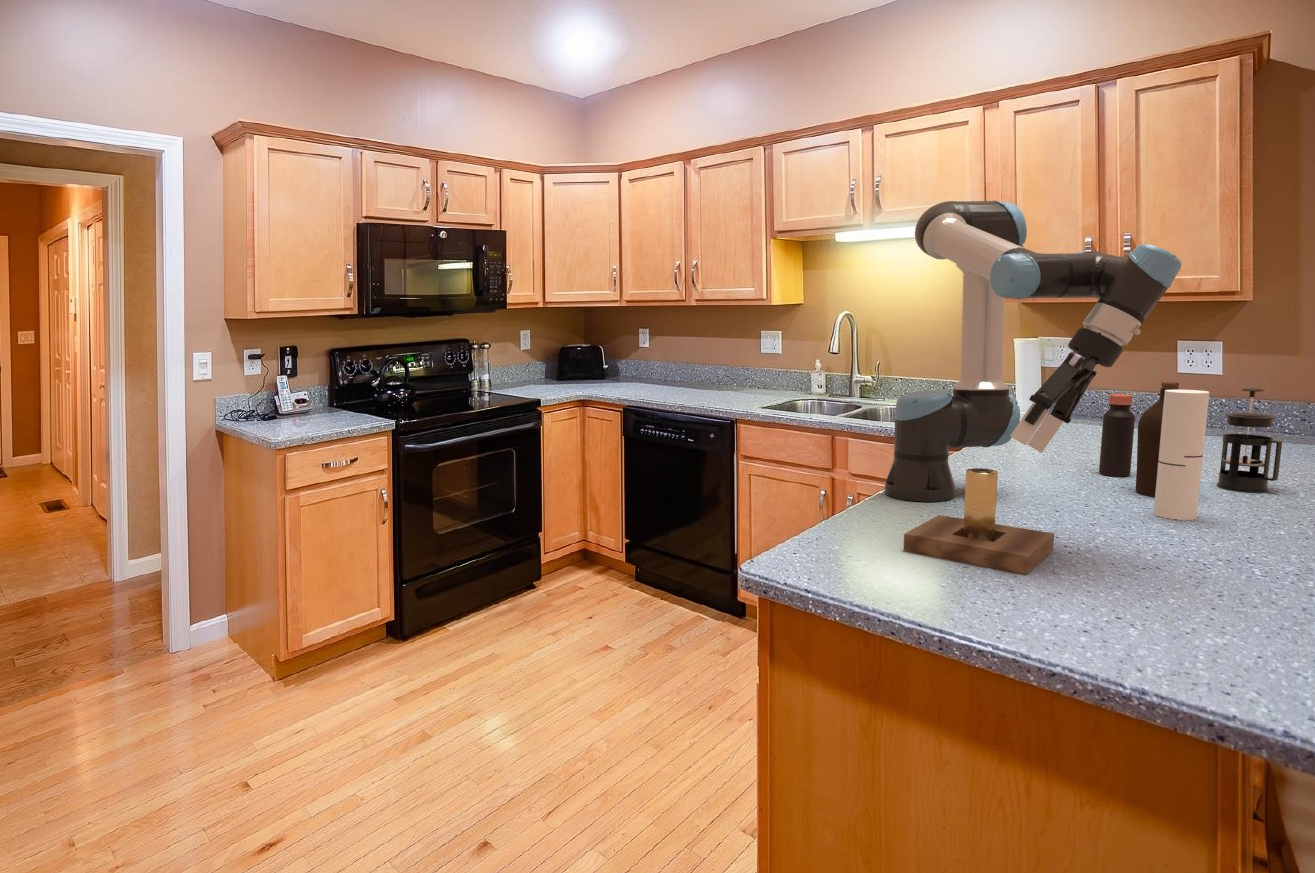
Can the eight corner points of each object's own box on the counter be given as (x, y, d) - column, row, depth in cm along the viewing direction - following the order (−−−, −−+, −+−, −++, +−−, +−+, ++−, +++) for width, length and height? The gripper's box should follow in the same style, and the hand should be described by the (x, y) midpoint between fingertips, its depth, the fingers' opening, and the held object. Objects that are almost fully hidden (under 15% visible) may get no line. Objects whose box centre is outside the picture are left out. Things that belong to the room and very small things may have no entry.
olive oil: (1160, 500, 164) (1171, 385, 160) (1120, 489, 174) (1130, 381, 170) (1201, 497, 166) (1212, 383, 162) (1159, 487, 176) (1169, 379, 172)
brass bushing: (958, 551, 131) (961, 471, 129) (968, 544, 135) (971, 466, 133) (988, 556, 128) (992, 475, 126) (997, 549, 132) (1001, 469, 129)
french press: (1204, 486, 177) (1214, 387, 173) (1227, 481, 181) (1237, 385, 177) (1263, 496, 166) (1275, 392, 163) (1285, 491, 170) (1297, 389, 167)
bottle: (1119, 478, 186) (1126, 397, 183) (1092, 473, 192) (1099, 395, 188) (1136, 475, 189) (1143, 395, 186) (1109, 470, 195) (1115, 393, 192)
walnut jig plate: (903, 550, 132) (904, 533, 131) (937, 530, 144) (938, 514, 143) (1026, 574, 119) (1027, 556, 118) (1053, 550, 131) (1054, 533, 130)
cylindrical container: (1203, 521, 147) (1216, 393, 143) (1163, 519, 149) (1174, 393, 145) (1186, 511, 154) (1198, 389, 150) (1147, 510, 156) (1158, 389, 152)
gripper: (1116, 330, 113) (1031, 449, 118) (1132, 361, 133) (1059, 462, 138) (1068, 308, 117) (988, 425, 122) (1091, 342, 137) (1021, 440, 142)
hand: (1026, 445), depth 130 cm, fingers open, 13 cm apart
